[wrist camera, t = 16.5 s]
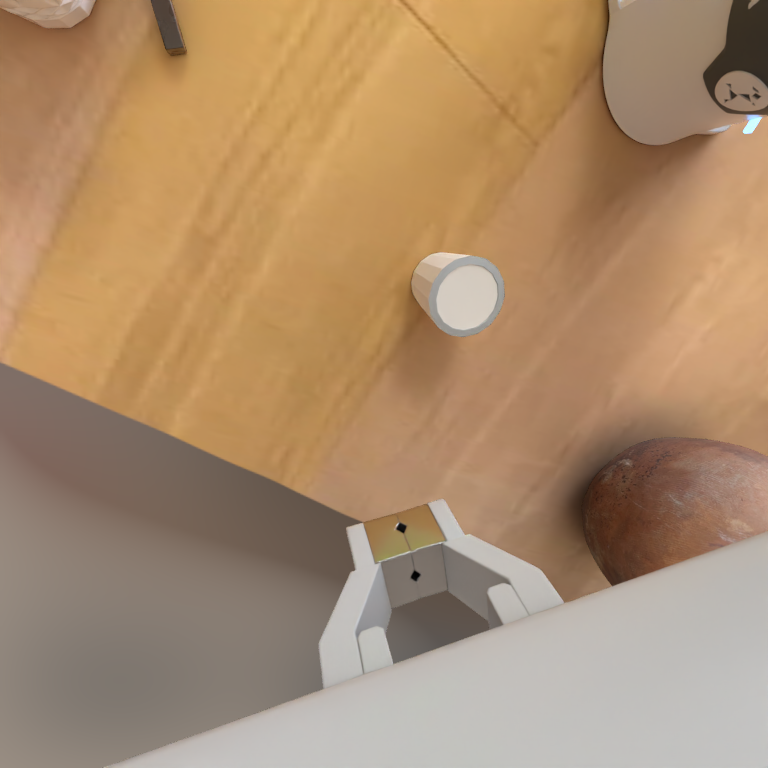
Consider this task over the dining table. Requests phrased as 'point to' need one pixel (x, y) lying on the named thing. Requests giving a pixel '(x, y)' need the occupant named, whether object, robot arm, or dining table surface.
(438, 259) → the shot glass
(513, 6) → the dining table surface
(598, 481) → the pottery
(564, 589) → the dining table surface
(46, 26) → the white cup
